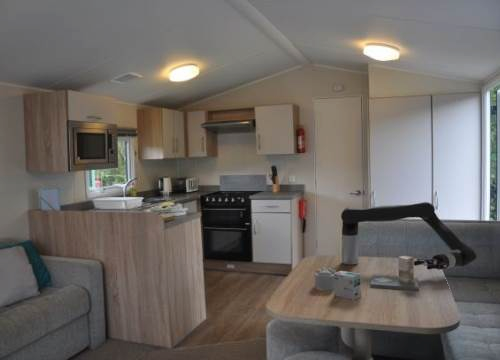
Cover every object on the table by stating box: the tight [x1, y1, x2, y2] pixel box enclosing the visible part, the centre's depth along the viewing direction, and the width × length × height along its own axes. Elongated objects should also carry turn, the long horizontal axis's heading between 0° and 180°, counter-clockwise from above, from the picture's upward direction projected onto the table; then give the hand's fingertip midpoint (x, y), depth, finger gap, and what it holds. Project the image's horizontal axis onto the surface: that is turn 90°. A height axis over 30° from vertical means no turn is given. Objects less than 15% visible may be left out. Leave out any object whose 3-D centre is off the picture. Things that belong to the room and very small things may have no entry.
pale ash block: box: [397, 255, 415, 283], centre depth 212 cm, size 5×5×12 cm
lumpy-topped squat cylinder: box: [314, 267, 337, 291], centre depth 214 cm, size 10×13×9 cm
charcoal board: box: [369, 274, 420, 292], centre depth 214 cm, size 22×16×2 cm
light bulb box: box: [333, 270, 362, 301], centre depth 198 cm, size 11×7×11 cm, turn 47°
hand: (420, 265), depth 216 cm, fingers open, 8 cm apart
